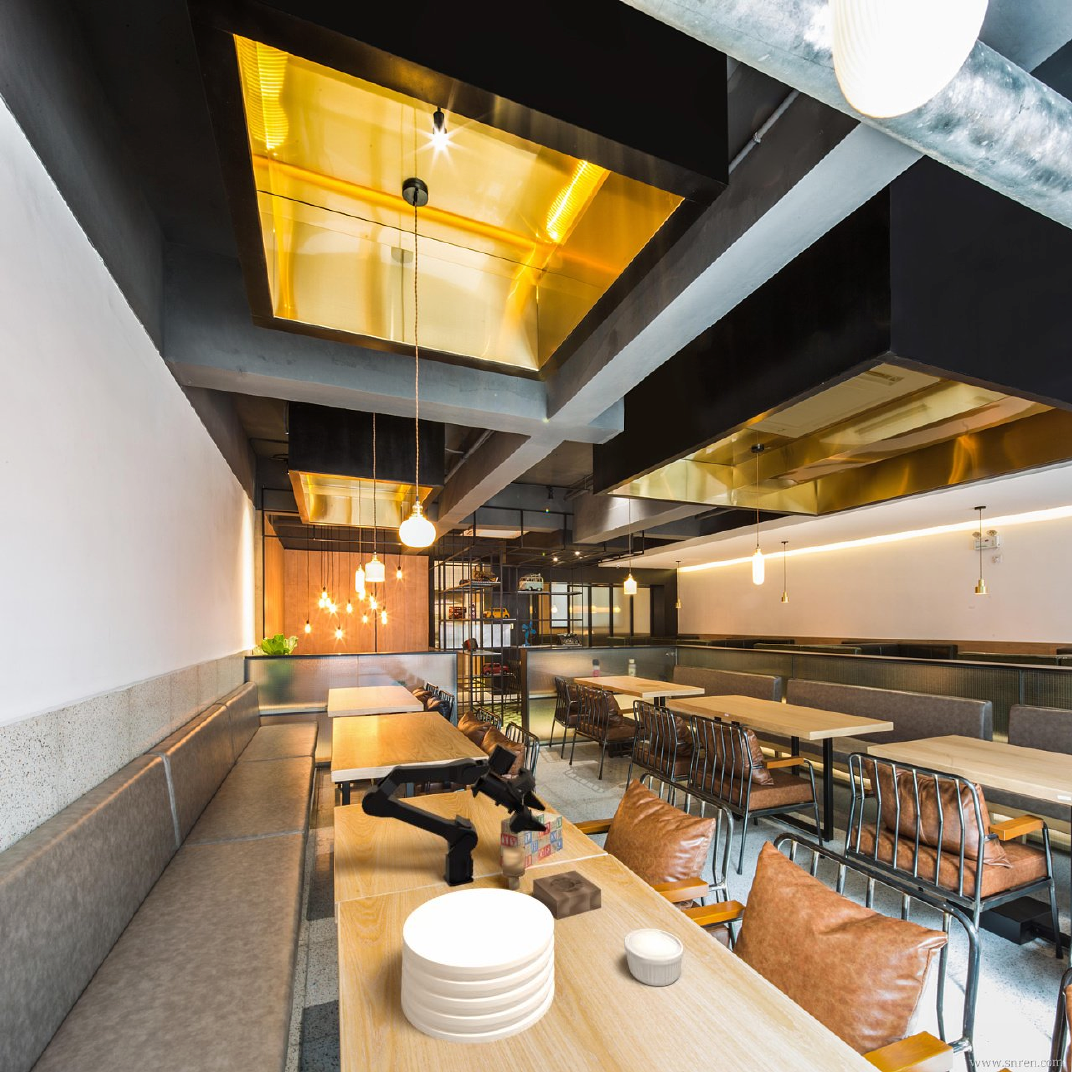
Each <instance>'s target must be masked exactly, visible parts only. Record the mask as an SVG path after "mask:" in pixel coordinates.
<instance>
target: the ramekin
mask: <svg viewBox="0 0 1072 1072" xmlns="http://www.w3.org/2000/svg"><path fill="white" fill-rule="evenodd" d="M681 941H682V940H680V939H679V938H678V937H676V935H673V934H672V933H670V932H667V931H664V930H661V929H657V928H640V929H636V930H632V931H630V932H629V933H628V934H627V935H626V936H625V938H624V940H623V945H624V950H625V955H626V958H627V964H628V970H629V971H630V973H631V974H632V976H633V977H634V978H635V979H636V980H638V981H639V982H641V983H643V984H645V985H648V986H652V987H665V986H669V985H672V984H673V983H675V982H676V981H677V979H678V978H679V977H680V975H681V974H680V973H681V967H682V960H683V956H684V953H685V952H684V951H685V950H684V948H685V947H684V945H683V942H681Z"/></svg>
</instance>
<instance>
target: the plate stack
mask: <svg viewBox="0 0 1072 1072" xmlns="http://www.w3.org/2000/svg"><path fill="white" fill-rule="evenodd" d="M554 933H555V920H554V916H553V915H552V914H551V912H550V911H549V909H548V908H547V907H546V906H545V905H544V904H542V903H541V902H540V901H538V900H536V899H535V898H533V896H531V895H528V894H525V893H522V892H518V891H516V890H510V889H503V888H489V887H487V888H485V887H484V888H471V889H469V888H468V889H463V890H457V891H453V892H448V893H446V894H442V895H440V896H437V897H434V898H432V899H430V900H428V901H425V902H424V903H423V904H421V905H420V906H418V907H417V908H416V909H414V910H413V911H412V912H411V913H410V914H409V915H408V917H407V918H406V920H405V922H404V925H403V928H402V946H401V948H402V949H401V950H402V952H401V953H402V956H401V957H402V959H401V960H402V961H401V984H400V985H401V992H400V1006H401V1009H402V1012H403V1014H404V1016H405V1018H406V1017H407V1018H406V1019H407V1020H408V1021H410V1022H411V1023H410V1022H409V1023H410V1024H411V1025H412V1026H413V1027H414V1028H416V1029H417V1030H418V1031H420V1032H422V1033H423V1034H425V1035H427V1036H429V1037H432V1038H434V1039H438V1040H441V1041H444V1042H448V1043H454V1044H455V1043H456V1044H468V1045H469V1044H482V1043H483V1044H485V1043H491V1042H496V1041H500V1040H504V1039H508V1038H511V1037H513V1036H516V1035H518V1034H520V1033H522V1032H523V1031H525V1030H527V1029H529V1028H531V1027H533V1026H534V1025H535V1024H536V1023H537V1022H539V1021H540V1020H541V1019H542V1018H543V1017H544V1016H545V1014H546V1013H547V1012H548V1011H549V1010H550V1007H551V1005H552V1003H553V1000H554V997H555V935H554Z"/></svg>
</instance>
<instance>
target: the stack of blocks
mask: <svg viewBox="0 0 1072 1072" xmlns="http://www.w3.org/2000/svg"><path fill="white" fill-rule="evenodd" d="M532 815H533V817H535V818H536V819H537V820H538V821H540V822H541V823H542V824H543V825H544V826H545V827H547V830H546V831H545V832H541V831H521V832H520V833H518V834H515V833H513V832H512V831H510V818H511V816H509V817H508V818H505V819H503V820H501V821H500V867H501V868H503V849H504V848H506V847H509V846H520V847H523V848H524V849H525V869H527V868H529V867H531V866H533V865H535V864H536V863H538V862H540V861H541V860H543V859H545V858H546V857H549V856H550V855H552V854H554V853H556V852H558V851H559V850H562V849H563V847H564V846H563V816H562V815H560V814H556V813H551V812H546V811H544V812H542V811H537V810H536V811H535V810H532Z"/></svg>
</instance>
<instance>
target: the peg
mask: <svg viewBox="0 0 1072 1072" xmlns="http://www.w3.org/2000/svg"><path fill="white" fill-rule="evenodd" d="M525 873H526V868H525V849H524V848H523V847H520V846H509V847H506V848H504V849H503V867H502V875H503V876H504V877H506V878H508V890H510V891H516V890H517V891H518V890H519V889H520V878H521V877H523V876H524V875H525Z"/></svg>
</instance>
